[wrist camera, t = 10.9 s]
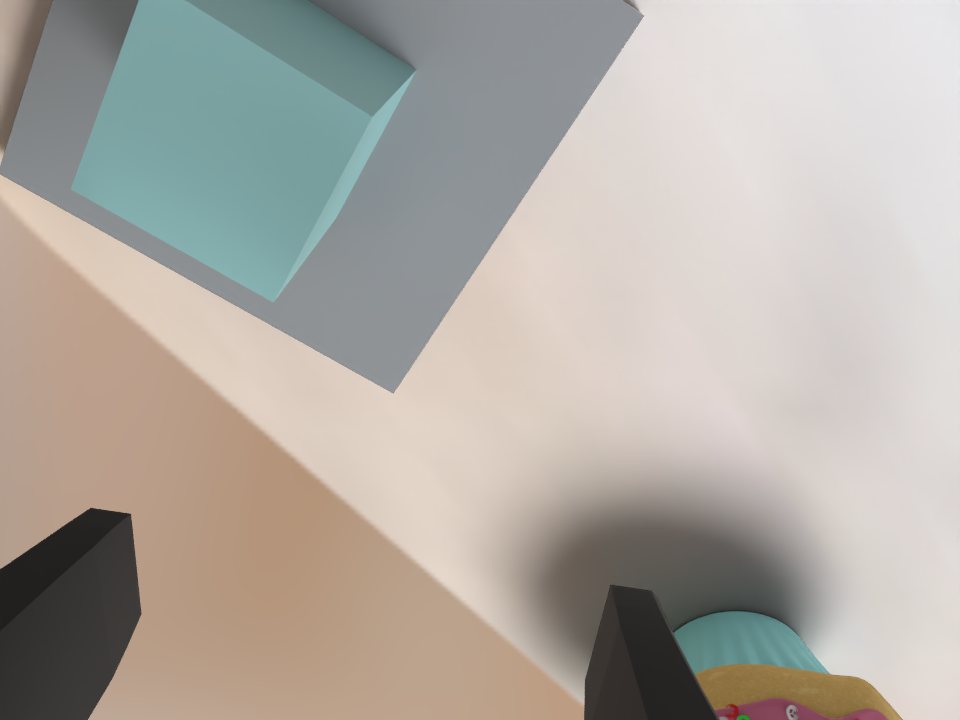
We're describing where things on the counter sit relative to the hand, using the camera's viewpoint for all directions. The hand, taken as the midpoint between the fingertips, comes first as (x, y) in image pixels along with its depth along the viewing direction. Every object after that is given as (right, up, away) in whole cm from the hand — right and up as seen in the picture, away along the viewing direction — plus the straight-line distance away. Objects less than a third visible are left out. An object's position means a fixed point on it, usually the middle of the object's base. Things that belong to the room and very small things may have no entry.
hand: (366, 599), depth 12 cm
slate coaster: (-2, +10, +7) cm, 12 cm away
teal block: (-2, +9, +6) cm, 12 cm away
